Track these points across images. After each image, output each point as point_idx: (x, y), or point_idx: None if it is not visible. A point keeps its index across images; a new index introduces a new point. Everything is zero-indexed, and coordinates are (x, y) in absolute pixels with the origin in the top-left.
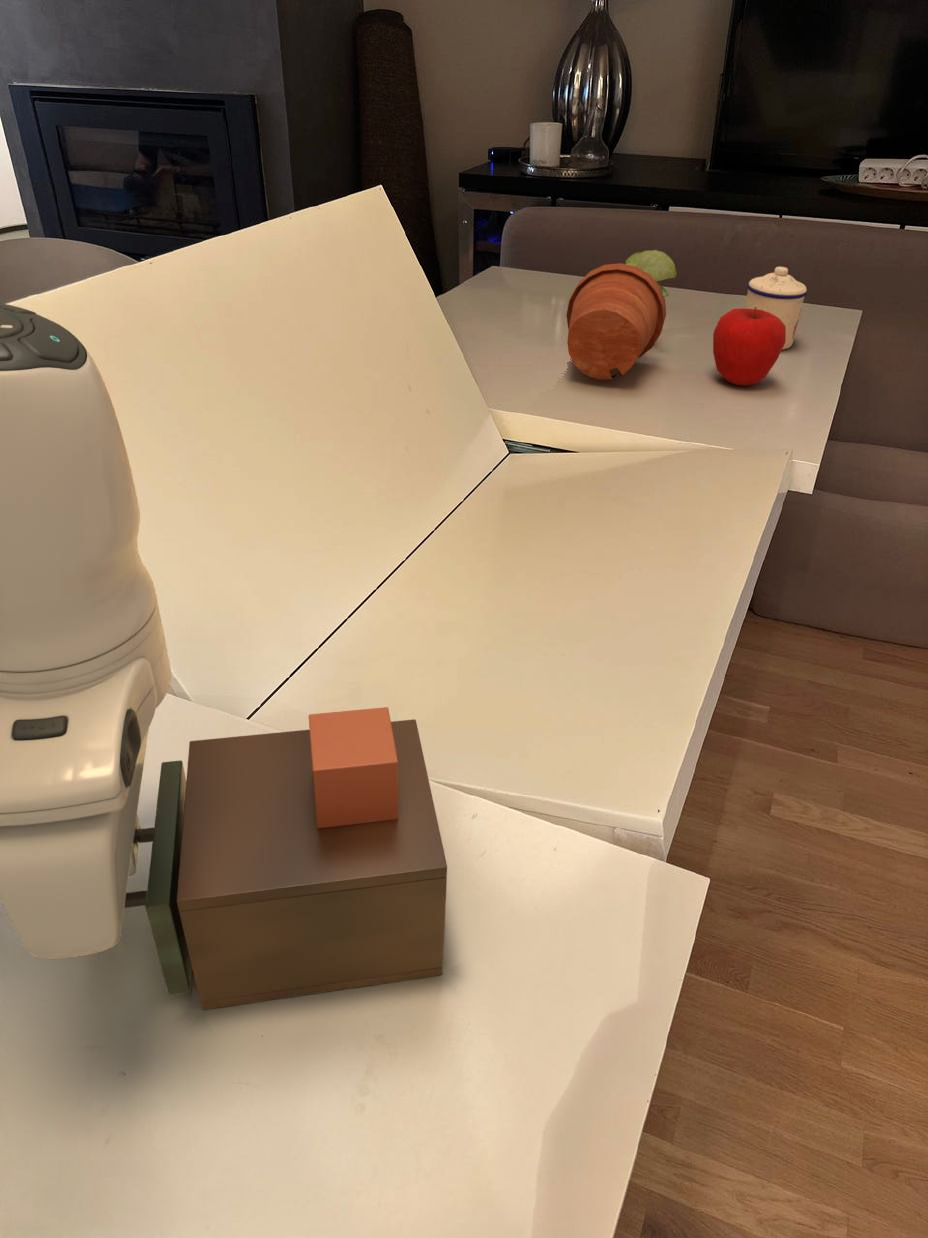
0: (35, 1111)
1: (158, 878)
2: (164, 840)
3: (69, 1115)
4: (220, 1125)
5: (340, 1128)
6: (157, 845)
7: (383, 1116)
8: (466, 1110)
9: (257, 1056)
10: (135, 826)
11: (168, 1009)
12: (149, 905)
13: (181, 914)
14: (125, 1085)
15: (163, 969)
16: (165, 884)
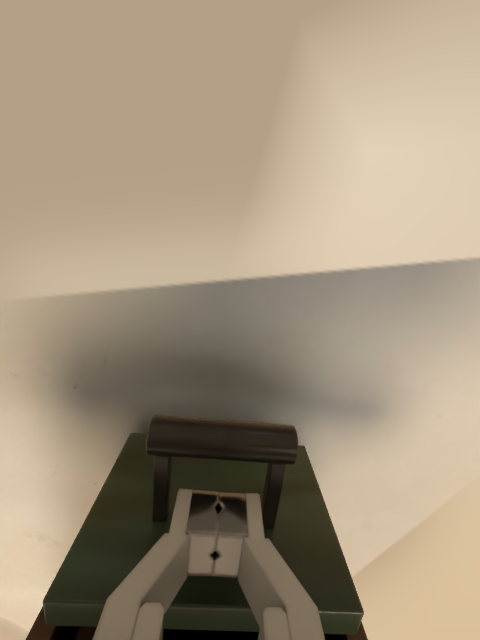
0: (47, 317)
1: (96, 616)
2: (178, 619)
3: (41, 345)
4: (22, 452)
5: (14, 522)
6: (170, 612)
7: (20, 546)
8: (21, 587)
9: (77, 479)
10: (228, 576)
11: (132, 420)
12: (44, 606)
13: (29, 632)
14: (64, 388)
15: (112, 468)
16: (86, 621)
